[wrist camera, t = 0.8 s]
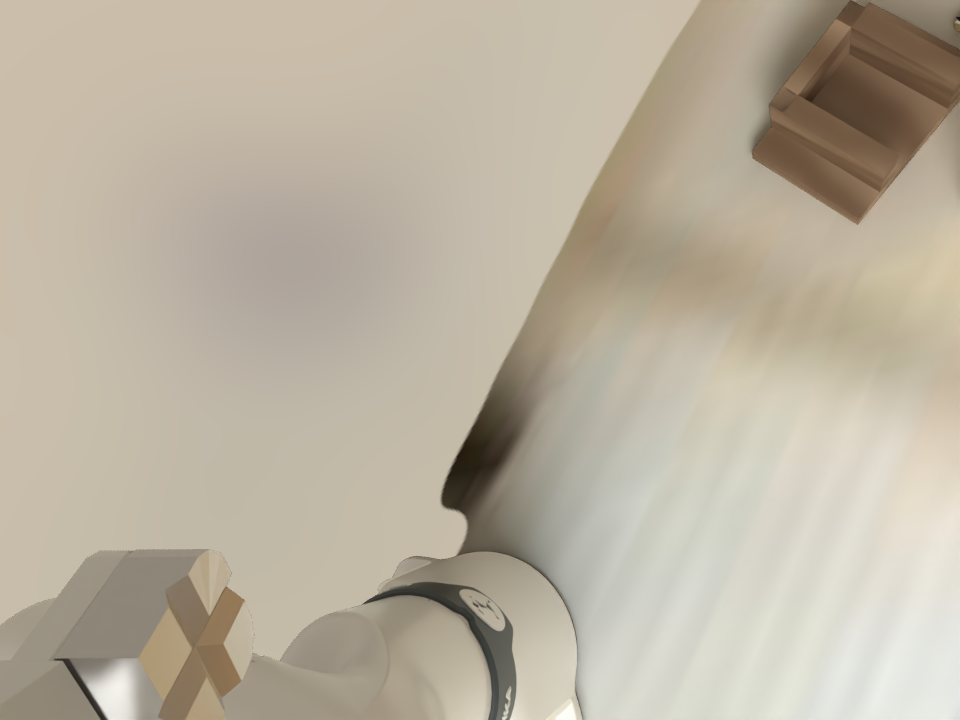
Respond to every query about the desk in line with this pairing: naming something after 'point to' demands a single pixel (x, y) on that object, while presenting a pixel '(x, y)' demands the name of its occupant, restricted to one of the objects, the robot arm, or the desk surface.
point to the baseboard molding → (957, 24)
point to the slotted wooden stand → (859, 108)
